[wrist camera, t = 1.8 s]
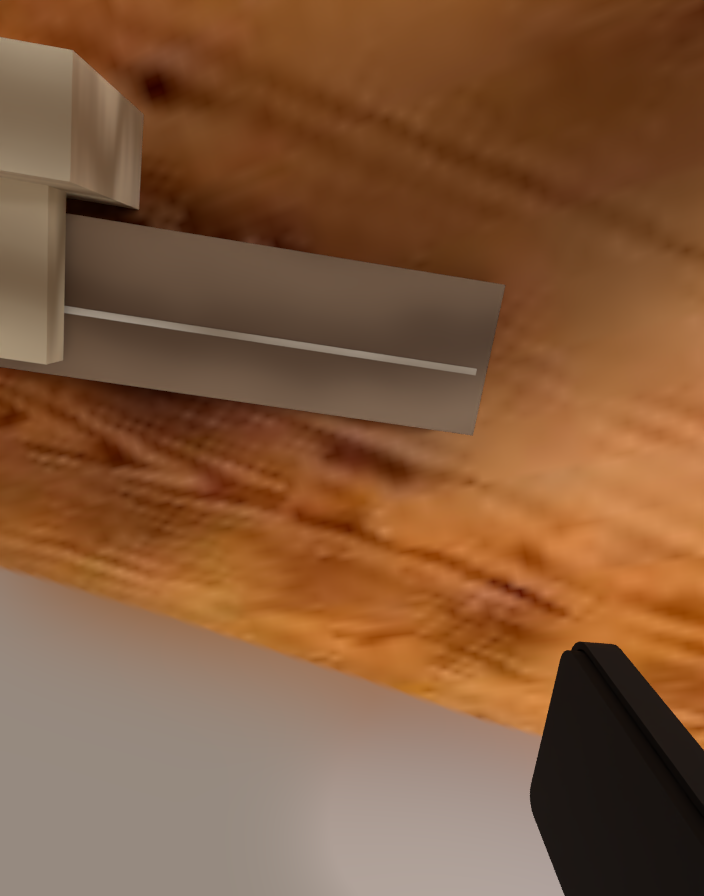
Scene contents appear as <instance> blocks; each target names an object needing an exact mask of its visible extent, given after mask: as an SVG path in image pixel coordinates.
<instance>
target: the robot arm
mask: <svg viewBox="0 0 704 896" xmlns="http://www.w3.org/2000/svg"><path fill="white" fill-rule="evenodd" d="M530 802H531V808H532V812H533V816H534V818H535V821H536V823H537V826H538V829H539V831H540V834H541V836H542V839H543V841H544V844H545V846H546V849H547V852H548V854H549V857H550V859H551V862H552V864H553V867H554V870H555V872H556V875H557V877H558V880H559V882H560V884H561V887H562V890H563V893H564V895H565V896H704V750H703V749H702V748H701V746H700V745H699V744H698V743H697V742H696V740H695V739H694V738H693V737H692V735H691V734H690V733H689V732H688V731H687V729H686V728H685V727H684V726H683V725H682V723H681V722H680V721H679V720H678V718H677V717H676V716H675V715H674V714H673V712H672V711H671V710H670V709H669V707H668V706H667V705H666V704H665V703H664V701H663V700H662V699H661V698H660V697H659V695H658V694H657V693H656V692H655V690H654V689H653V688H652V687H651V686H650V684H649V683H648V682H647V681H646V679H645V678H644V677H643V676H642V675H641V673H640V672H639V671H638V670H637V669H636V667H635V666H634V665H633V664H632V662H631V661H630V660H629V659H628V658H627V656H626V655H625V654H624V653H623V651H622V650H621V649H620V648H619V647H618V646H616V645H613V644H604V643H590V642H577V643H575V645H574V646H573V647H572V650H571V651H570V650H566V651H564V653H563V654H562V656H561V659H560V663H559V667H558V672H557V676H556V680H555V684H554V689H553V693H552V697H551V702H550V706H549V710H548V714H547V719H546V723H545V727H544V731H543V736H542V740H541V744H540V749H539V753H538V757H537V761H536V766H535V770H534V774H533V778H532V783H531V788H530Z"/></svg>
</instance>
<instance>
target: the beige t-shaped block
mask: <svg viewBox="0 0 704 896" xmlns="http://www.w3.org/2000/svg"><path fill="white" fill-rule="evenodd" d="M143 120H144V114H143V113H142V112H141V111H139V110H138V109H137V108H136V107H135V106H134V105H133V104H132V103H131V102H129V101H128V100H127V99H126V98H125V97H124V96H123V95H122V94H121V93H120V92H118V91H117V90H116V89H115V88H114V87H113V86H112V85H111V84H110V83H108V82H107V81H106V80H105V79H104V78H103V77H102V76H101V75H100V74H99V73H97V72H96V71H95V70H94V69H93V68H92V67H91V66H90V65H89V64H87V63H86V62H85V61H84V60H83V59H82V58H81V57H80V56H79V55H78V54H76V53H75V52H74V51H73V50H69V49H63V48H58V47H52V46H47V45H41V44H36V43H30V42H24V41H19V40H13V39H8V38H2V37H0V358H5V359H12V360H19V361H25V362H32V363H39V364H46V365H47V364H51V363H55V362H59V361H63V346H64V291H65V237H66V198H71V199H77V200H83V201H89V202H95V203H101V204H107V205H113V206H119V207H125V208H131V209H137V210H139V200H140V180H141V160H142V140H143Z"/></svg>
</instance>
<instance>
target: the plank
mask: <svg viewBox="0 0 704 896" xmlns="http://www.w3.org/2000/svg"><path fill="white" fill-rule="evenodd" d="M504 289H505V285H503V284H497V283H491V282H485V281H479V280H472V279H466V278H460V277H454V276H448V275H442V274H436V273H430V272H423V271H417V270H411V269H405V268H399V267H393V266H387V265H380V264H374V263H368V262H362V261H356V260H350V259H344V258H337V257H331V256H325V255H319V254H313V253H307V252H301V251H295V250H288V249H282V248H276V247H270V246H264V245H258V244H252V243H245V242H239V241H233V240H227V239H221V238H215V237H209V236H202V235H196V234H190V233H184V232H178V231H172V230H166V229H160V228H153V227H147V226H141V225H135V224H129V223H123V222H117V221H110V220H104V219H98V218H92V217H86V216H80V215H74V214H67V213H66V237H65V291H64V346H63V361H59V362H55V363H51V364H47V365H46V364H39V363H32V362H25V361H19V360H12V359H5V358H0V367H4V368H11V369H18V370H25V371H32V372H39V373H46V374H52V375H59V376H66V377H73V378H80V379H87V380H94V381H101V382H108V383H114V384H121V385H128V386H135V387H142V388H149V389H156V390H163V391H170V392H176V393H183V394H190V395H197V396H204V397H211V398H218V399H225V400H232V401H238V402H245V403H252V404H259V405H266V406H273V407H280V408H287V409H294V410H300V411H307V412H314V413H321V414H328V415H335V416H342V417H349V418H356V419H362V420H369V421H376V422H383V423H390V424H397V425H404V426H411V427H418V428H424V429H431V430H438V431H445V432H452V433H459V434H466V435H473V432H474V428H475V423H476V418H477V414H478V409H479V405H480V400H481V395H482V391H483V386H484V381H485V377H486V372H487V368H488V363H489V358H490V354H491V349H492V345H493V340H494V335H495V331H496V326H497V321H498V317H499V312H500V308H501V303H502V298H503V294H504Z"/></svg>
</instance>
